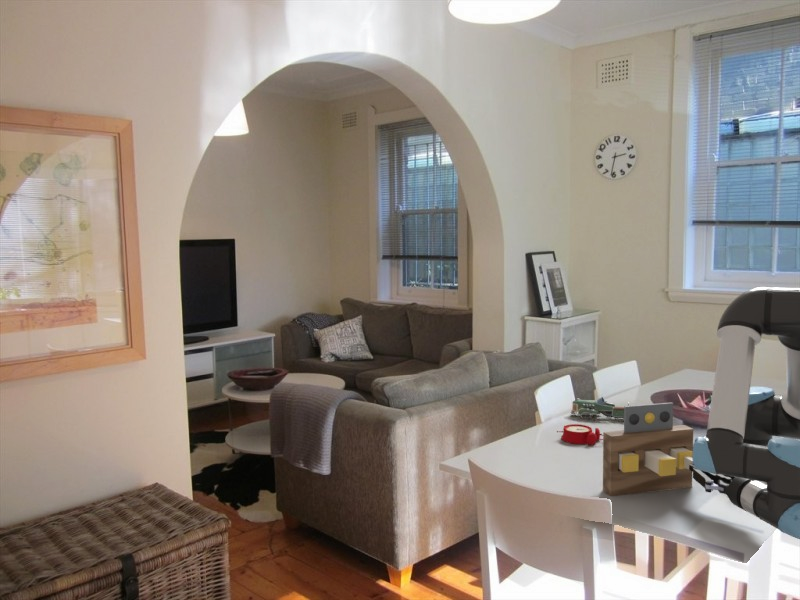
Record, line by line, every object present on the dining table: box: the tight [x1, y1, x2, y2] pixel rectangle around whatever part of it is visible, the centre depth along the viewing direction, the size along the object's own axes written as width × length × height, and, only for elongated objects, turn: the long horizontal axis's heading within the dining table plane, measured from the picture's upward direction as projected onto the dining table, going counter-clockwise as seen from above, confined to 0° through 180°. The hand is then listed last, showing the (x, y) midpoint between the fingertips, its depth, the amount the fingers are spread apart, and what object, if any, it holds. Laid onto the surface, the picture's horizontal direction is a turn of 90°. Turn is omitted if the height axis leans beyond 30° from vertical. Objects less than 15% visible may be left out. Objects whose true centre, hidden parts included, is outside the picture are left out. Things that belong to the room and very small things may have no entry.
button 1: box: [618, 451, 639, 472], centre depth 176 cm, size 9×4×4 cm, turn 12°
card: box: [623, 402, 674, 433], centre depth 176 cm, size 1×14×7 cm, turn 102°
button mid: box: [644, 449, 676, 476], centre depth 173 cm, size 9×4×4 cm, turn 12°
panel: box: [602, 424, 694, 497], centre depth 177 cm, size 4×24×16 cm, turn 102°
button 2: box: [669, 447, 693, 469], centre depth 177 cm, size 9×4×4 cm, turn 12°
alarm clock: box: [556, 423, 603, 446], centre depth 220 cm, size 10×6×15 cm
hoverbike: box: [570, 396, 630, 421], centre depth 244 cm, size 10×25×8 cm, turn 63°
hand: (686, 461), depth 172 cm, fingers closed
